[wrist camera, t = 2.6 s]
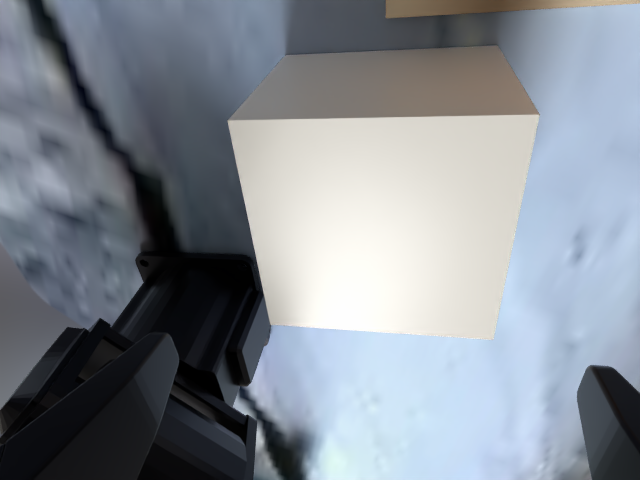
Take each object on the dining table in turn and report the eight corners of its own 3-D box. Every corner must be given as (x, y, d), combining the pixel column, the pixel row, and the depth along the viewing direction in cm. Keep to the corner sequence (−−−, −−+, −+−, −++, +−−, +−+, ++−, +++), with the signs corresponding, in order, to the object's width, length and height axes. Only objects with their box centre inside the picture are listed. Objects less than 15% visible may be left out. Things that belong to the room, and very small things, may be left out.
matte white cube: (305, 222, 21) (270, 324, 16) (285, 55, 17) (227, 120, 12) (472, 226, 20) (493, 340, 15) (497, 45, 16) (539, 114, 10)
